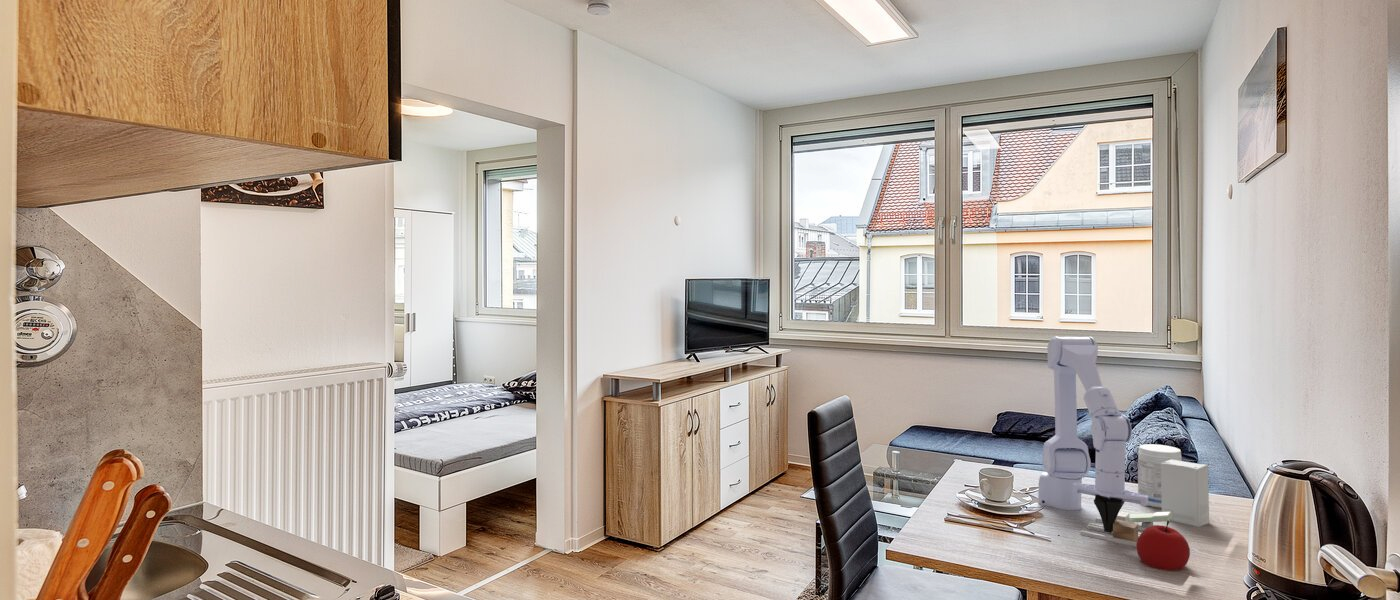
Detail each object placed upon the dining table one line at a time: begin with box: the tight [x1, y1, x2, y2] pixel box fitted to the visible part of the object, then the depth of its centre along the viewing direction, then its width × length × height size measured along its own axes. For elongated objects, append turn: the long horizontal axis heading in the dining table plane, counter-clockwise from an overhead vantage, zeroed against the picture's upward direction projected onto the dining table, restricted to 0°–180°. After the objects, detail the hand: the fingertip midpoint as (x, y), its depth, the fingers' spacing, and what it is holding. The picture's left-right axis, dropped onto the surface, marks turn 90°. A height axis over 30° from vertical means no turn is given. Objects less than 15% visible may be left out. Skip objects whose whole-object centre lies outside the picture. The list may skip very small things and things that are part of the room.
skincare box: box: [1161, 459, 1210, 528], centre depth 173 cm, size 8×6×15 cm
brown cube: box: [1112, 520, 1140, 542], centre depth 159 cm, size 4×4×4 cm
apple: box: [1136, 520, 1191, 572], centre depth 146 cm, size 9×9×10 cm
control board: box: [1079, 517, 1154, 547], centre depth 165 cm, size 20×22×3 cm
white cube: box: [1115, 510, 1131, 522], centre depth 167 cm, size 4×4×4 cm
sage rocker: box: [1129, 511, 1172, 523], centre depth 167 cm, size 9×4×1 cm, turn 47°
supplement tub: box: [1137, 443, 1182, 509], centre depth 189 cm, size 10×10×15 cm
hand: (1108, 531), depth 162 cm, fingers closed
